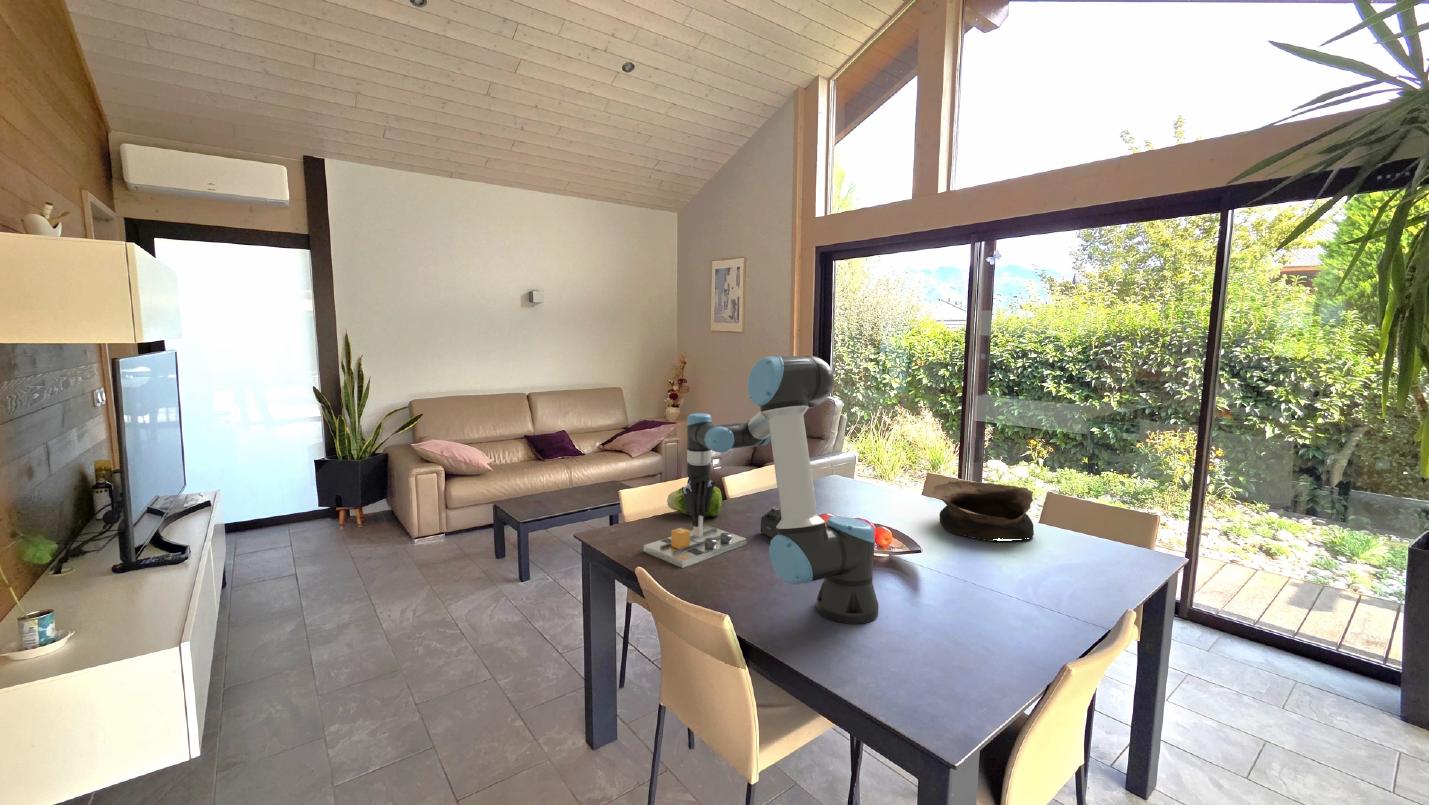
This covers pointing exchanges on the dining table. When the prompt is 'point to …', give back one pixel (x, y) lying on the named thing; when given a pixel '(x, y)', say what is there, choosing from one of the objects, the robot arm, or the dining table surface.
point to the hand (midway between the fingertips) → (698, 535)
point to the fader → (680, 538)
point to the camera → (771, 522)
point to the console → (696, 547)
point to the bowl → (985, 510)
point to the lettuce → (678, 503)
